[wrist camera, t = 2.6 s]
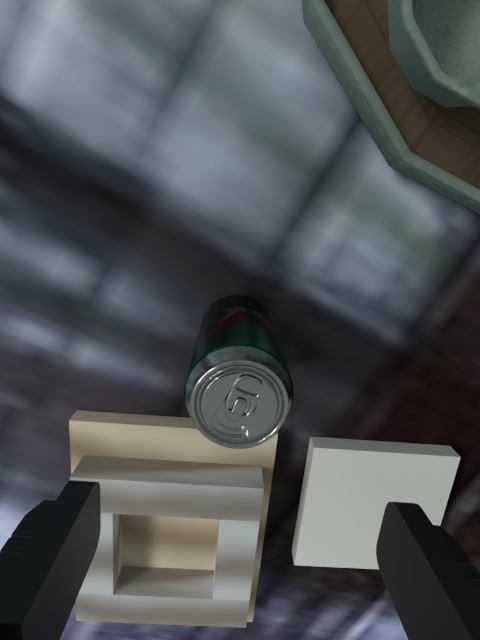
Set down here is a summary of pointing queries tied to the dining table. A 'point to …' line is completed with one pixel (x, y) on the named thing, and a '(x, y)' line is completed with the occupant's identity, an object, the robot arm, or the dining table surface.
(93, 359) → the dining table surface
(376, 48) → the tea set
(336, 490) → the tile
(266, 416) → the soda can
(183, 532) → the socket board
